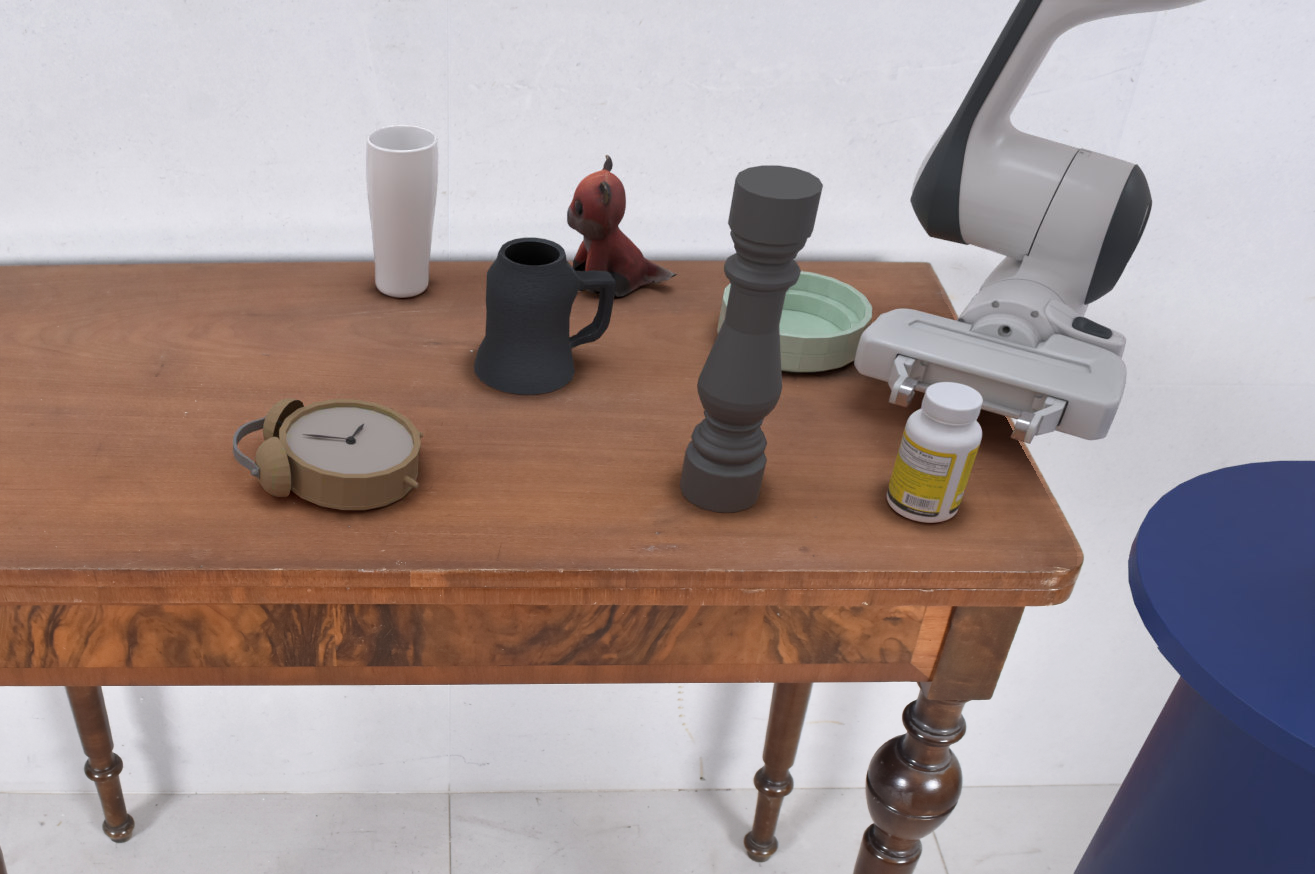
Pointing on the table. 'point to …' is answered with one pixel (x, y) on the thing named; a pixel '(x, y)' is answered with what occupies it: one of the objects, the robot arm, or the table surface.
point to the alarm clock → (334, 453)
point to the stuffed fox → (608, 234)
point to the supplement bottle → (936, 454)
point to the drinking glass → (402, 206)
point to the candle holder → (749, 337)
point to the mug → (536, 317)
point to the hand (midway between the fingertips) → (959, 414)
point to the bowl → (818, 323)
